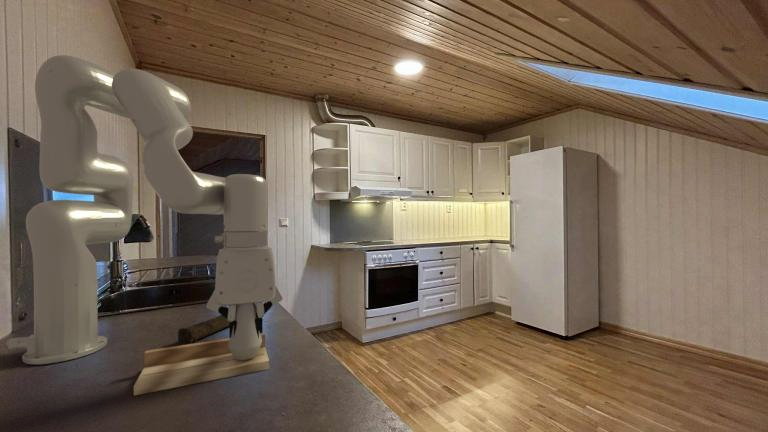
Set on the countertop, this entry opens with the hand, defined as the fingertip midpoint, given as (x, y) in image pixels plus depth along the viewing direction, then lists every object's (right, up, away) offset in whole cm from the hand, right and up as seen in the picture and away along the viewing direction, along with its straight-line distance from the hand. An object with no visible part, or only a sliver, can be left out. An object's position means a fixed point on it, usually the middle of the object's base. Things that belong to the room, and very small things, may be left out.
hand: (246, 338), depth 61 cm
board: (-6, -5, -1) cm, 8 cm away
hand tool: (-15, -6, +19) cm, 25 cm away
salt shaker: (0, -3, 0) cm, 4 cm away
